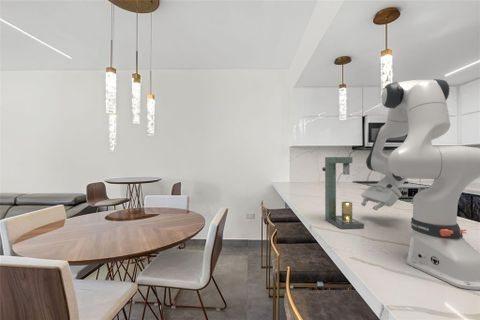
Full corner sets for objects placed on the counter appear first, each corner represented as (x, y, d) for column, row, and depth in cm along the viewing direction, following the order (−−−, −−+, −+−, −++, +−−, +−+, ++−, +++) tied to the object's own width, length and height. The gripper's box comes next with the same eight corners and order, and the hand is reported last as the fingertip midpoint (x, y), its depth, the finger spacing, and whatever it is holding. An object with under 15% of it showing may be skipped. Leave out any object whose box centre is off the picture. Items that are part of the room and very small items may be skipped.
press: (364, 227, 111) (364, 157, 110) (339, 228, 110) (339, 157, 109) (339, 215, 133) (339, 156, 132) (319, 216, 132) (319, 157, 131)
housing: (354, 220, 115) (354, 203, 115) (345, 221, 115) (345, 203, 115) (348, 218, 120) (348, 201, 120) (339, 218, 120) (339, 201, 120)
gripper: (368, 181, 129) (352, 199, 128) (396, 186, 109) (377, 207, 108) (375, 189, 130) (359, 206, 129) (405, 195, 109) (386, 216, 109)
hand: (368, 207), depth 118 cm, fingers open, 8 cm apart
